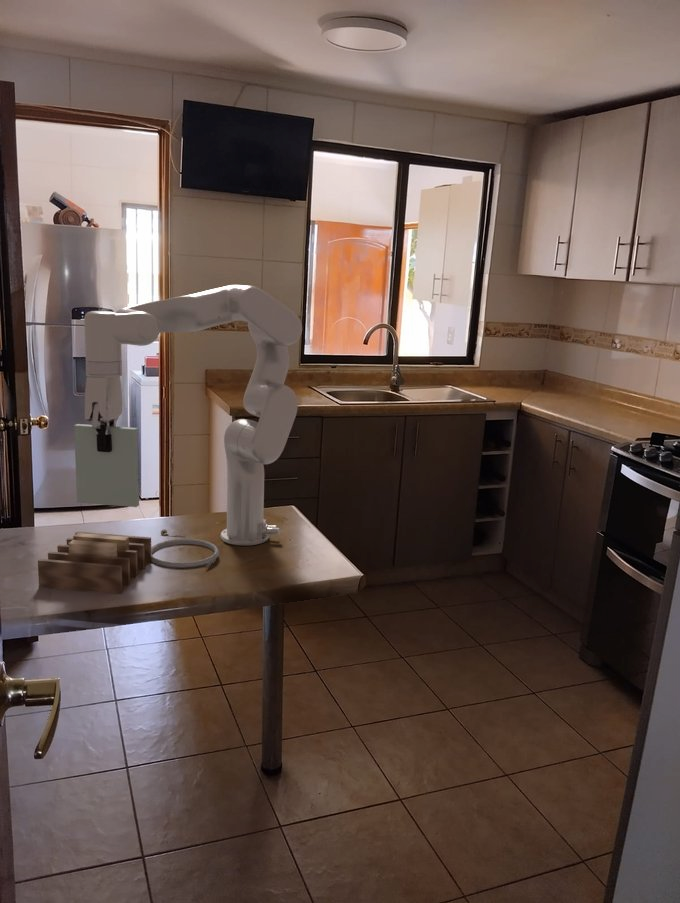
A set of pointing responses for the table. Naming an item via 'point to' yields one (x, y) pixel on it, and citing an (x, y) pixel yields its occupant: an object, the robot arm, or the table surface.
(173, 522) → the table surface
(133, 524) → the table surface
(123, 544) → the offcut dark
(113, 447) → the tall sheet
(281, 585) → the table surface
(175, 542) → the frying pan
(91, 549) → the offcut light
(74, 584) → the rack
